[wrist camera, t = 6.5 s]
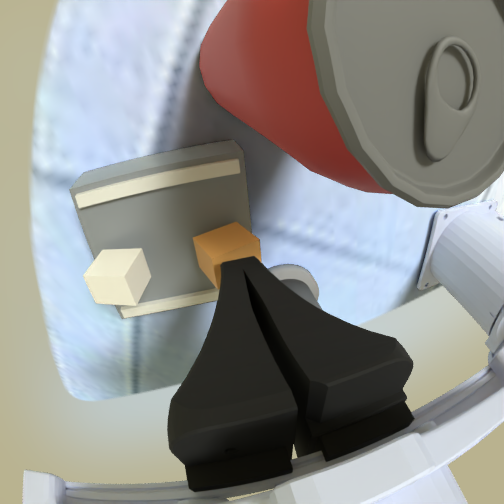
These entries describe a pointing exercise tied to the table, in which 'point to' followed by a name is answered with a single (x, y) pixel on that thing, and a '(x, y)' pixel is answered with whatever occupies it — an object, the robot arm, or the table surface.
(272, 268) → the cord spool
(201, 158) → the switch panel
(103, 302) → the cream cube
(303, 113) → the beer can
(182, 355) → the table surface
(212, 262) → the orange cube
